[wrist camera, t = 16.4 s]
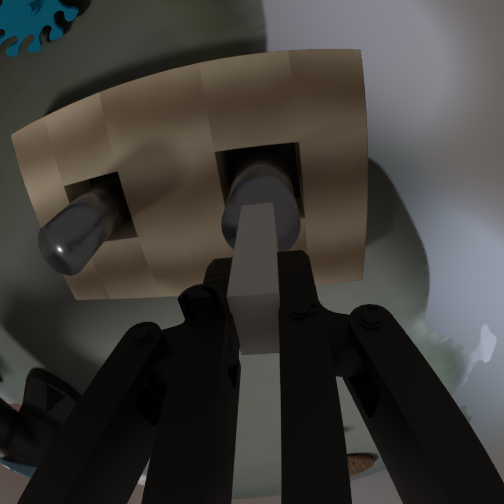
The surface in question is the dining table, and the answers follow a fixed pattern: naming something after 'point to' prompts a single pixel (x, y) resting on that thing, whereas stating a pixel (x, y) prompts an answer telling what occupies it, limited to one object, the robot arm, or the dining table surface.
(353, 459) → the trivet
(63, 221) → the seated peg
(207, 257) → the jig
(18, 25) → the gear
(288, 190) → the steel peg
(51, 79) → the dining table surface
